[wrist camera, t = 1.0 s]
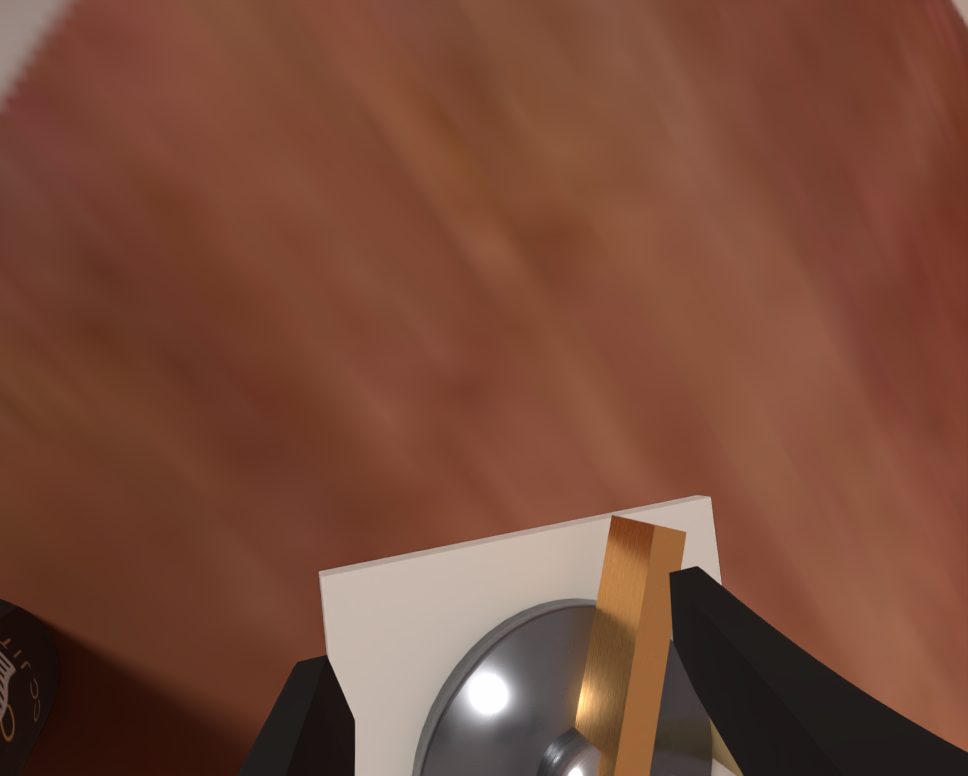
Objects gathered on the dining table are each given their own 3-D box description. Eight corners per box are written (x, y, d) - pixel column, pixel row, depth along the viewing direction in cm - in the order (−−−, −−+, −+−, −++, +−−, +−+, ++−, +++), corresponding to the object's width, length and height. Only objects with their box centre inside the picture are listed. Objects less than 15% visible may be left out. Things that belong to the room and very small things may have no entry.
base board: (739, 832, 30) (837, 914, 25) (362, 1020, 22) (390, 1194, 17) (697, 495, 30) (783, 507, 25) (318, 571, 23) (332, 610, 18)
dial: (664, 926, 26) (740, 1020, 22) (372, 948, 21) (397, 1074, 17) (720, 538, 29) (796, 555, 25) (473, 484, 24) (516, 495, 20)
